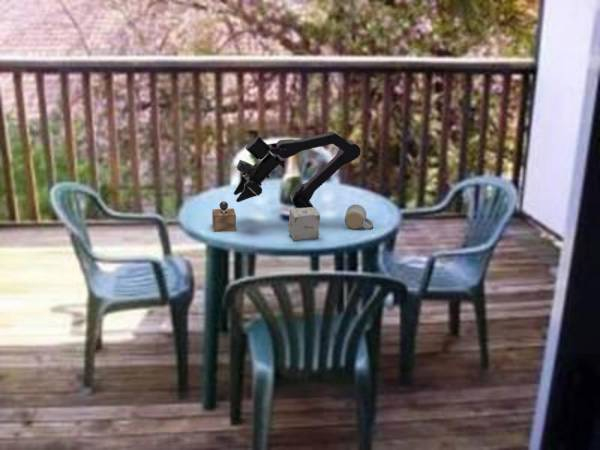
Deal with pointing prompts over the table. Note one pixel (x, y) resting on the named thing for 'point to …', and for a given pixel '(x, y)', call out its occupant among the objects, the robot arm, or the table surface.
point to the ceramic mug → (357, 217)
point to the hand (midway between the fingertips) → (235, 197)
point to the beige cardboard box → (304, 223)
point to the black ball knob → (223, 206)
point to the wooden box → (224, 220)
